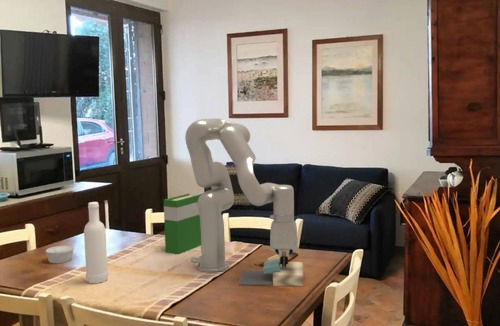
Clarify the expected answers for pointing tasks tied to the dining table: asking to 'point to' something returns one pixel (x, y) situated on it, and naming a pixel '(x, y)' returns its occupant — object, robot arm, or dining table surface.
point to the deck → (289, 275)
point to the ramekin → (59, 254)
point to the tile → (271, 266)
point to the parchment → (279, 257)
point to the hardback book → (182, 224)
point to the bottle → (95, 247)
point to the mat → (256, 278)
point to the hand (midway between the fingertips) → (284, 266)
